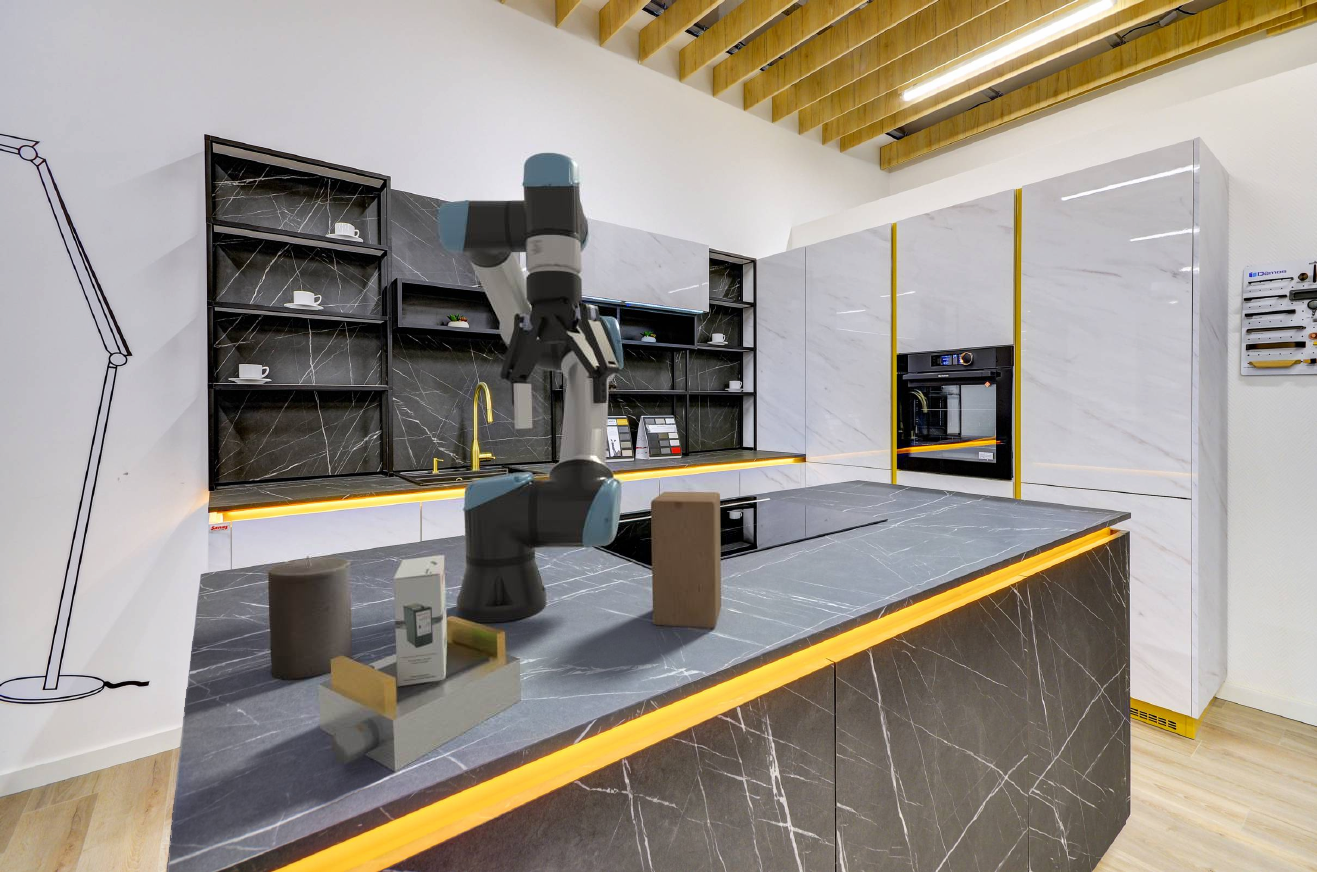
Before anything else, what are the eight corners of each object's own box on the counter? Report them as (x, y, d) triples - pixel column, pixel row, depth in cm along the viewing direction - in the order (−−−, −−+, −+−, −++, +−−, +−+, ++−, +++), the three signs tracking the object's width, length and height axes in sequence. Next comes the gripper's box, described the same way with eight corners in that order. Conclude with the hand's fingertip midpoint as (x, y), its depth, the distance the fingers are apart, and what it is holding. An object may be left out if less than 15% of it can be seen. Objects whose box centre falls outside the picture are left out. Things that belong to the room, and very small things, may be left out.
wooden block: (715, 629, 89) (713, 501, 88) (652, 625, 91) (650, 500, 90) (721, 607, 99) (720, 491, 98) (664, 604, 101) (662, 491, 100)
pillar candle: (263, 686, 73) (259, 568, 72) (278, 656, 82) (275, 551, 81) (350, 672, 77) (347, 560, 76) (356, 644, 86) (353, 545, 85)
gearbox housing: (290, 742, 60) (286, 667, 60) (446, 671, 76) (444, 612, 76) (364, 789, 52) (360, 703, 52) (520, 699, 68) (519, 633, 68)
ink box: (404, 655, 68) (400, 557, 68) (448, 649, 70) (445, 553, 69) (395, 688, 60) (391, 576, 60) (446, 680, 62) (442, 571, 61)
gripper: (472, 282, 83) (477, 429, 84) (607, 253, 69) (610, 430, 70) (512, 290, 89) (516, 427, 90) (643, 266, 75) (646, 428, 76)
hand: (557, 428), depth 80 cm, fingers open, 13 cm apart
